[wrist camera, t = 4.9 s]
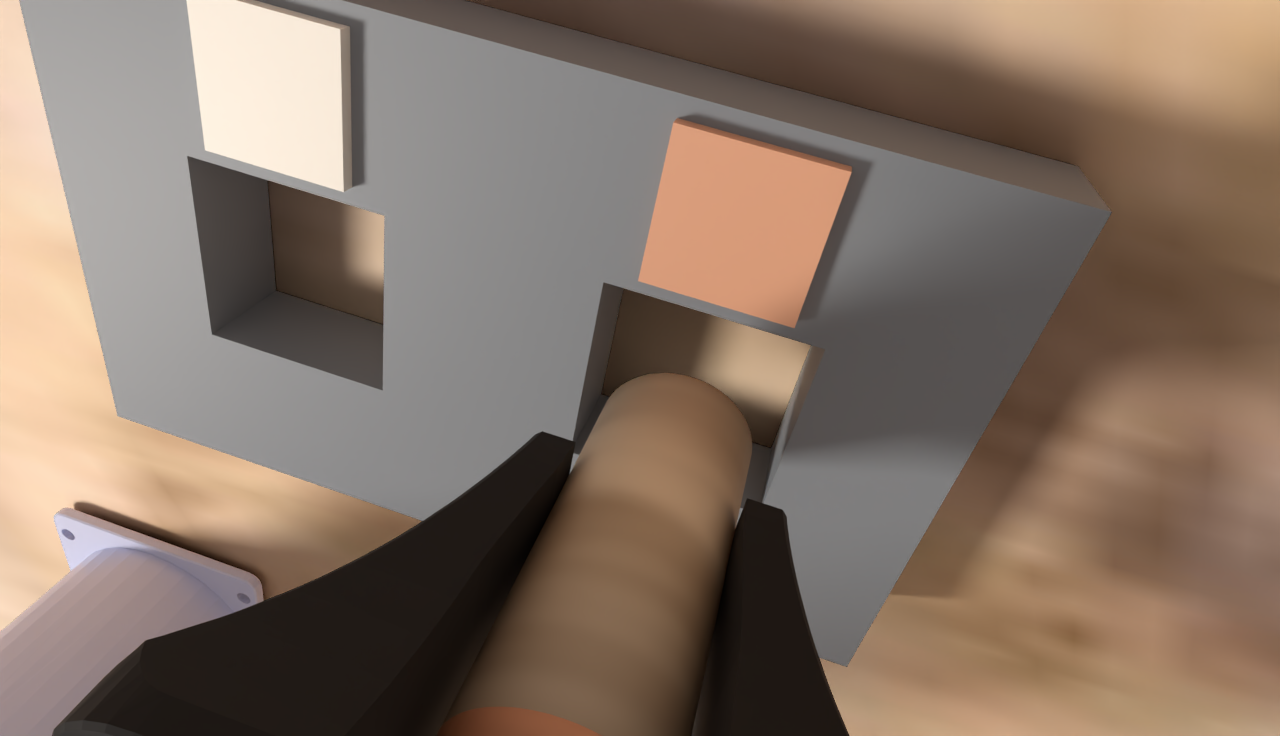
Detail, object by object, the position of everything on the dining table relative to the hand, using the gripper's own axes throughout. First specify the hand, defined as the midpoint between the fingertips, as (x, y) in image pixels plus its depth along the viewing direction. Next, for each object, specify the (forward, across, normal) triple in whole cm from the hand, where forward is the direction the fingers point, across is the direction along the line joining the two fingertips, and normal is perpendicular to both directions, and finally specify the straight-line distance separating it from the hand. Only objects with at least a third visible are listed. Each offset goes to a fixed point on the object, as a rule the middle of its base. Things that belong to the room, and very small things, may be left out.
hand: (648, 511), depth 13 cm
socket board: (+6, +4, 0) cm, 7 cm away
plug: (+2, 0, 0) cm, 2 cm away
